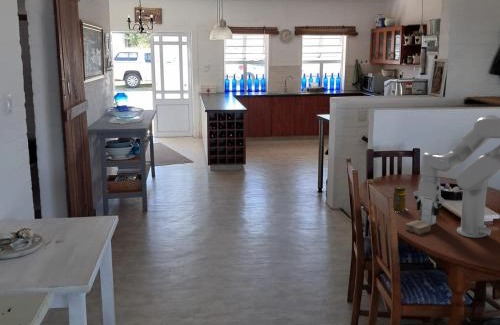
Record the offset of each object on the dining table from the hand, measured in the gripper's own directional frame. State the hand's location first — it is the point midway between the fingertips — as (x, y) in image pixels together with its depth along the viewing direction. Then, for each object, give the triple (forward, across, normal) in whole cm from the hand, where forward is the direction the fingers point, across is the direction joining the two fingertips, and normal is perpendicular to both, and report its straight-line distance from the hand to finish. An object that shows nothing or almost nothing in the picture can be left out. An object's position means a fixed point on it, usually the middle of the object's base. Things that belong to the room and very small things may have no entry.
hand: (427, 212), depth 245 cm
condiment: (+6, +23, -5) cm, 24 cm away
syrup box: (+6, 0, 0) cm, 6 cm away
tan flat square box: (+6, -3, +11) cm, 13 cm away
